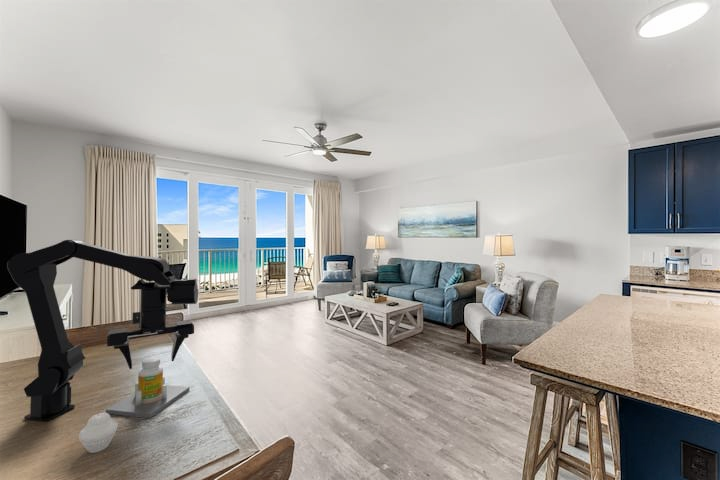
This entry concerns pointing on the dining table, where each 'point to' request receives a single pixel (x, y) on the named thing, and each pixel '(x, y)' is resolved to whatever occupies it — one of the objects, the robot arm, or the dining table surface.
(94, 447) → the white lump
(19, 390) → the dining table surface
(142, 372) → the supplement bottle
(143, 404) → the pin tray
